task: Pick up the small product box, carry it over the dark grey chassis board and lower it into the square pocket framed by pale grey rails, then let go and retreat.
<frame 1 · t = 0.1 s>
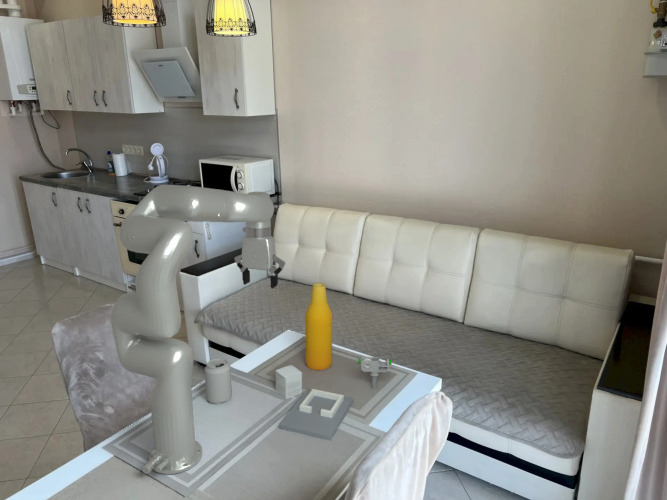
hand: (260, 285, 154), 31 cm above the table, tool pointing down, fingers open, 9 cm apart
chassis board: (318, 414, 140), on the table
mechanical component: (373, 388, 155), on the table
beer bottle: (318, 365, 169), on the table
can: (219, 399, 147), on the table
product box: (288, 392, 152), on the table
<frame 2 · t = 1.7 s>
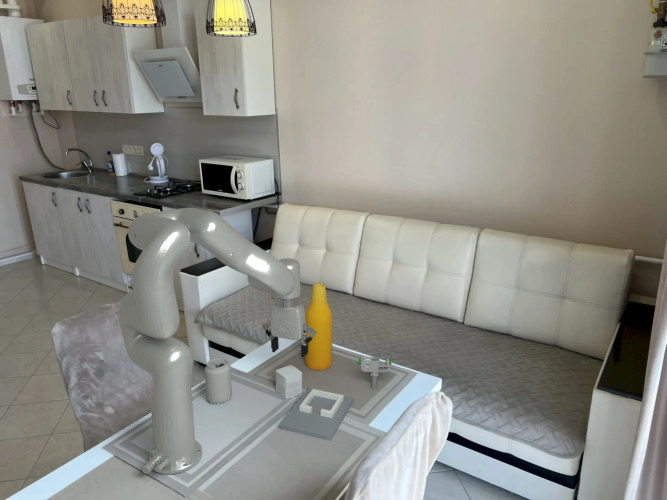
hand: (289, 352, 149), 13 cm above the table, tool pointing down, fingers open, 9 cm apart
nothing on the table moved.
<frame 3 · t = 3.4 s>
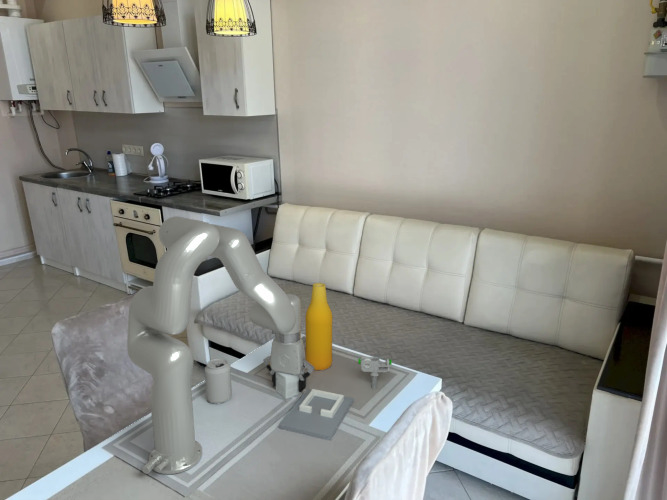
hand: (288, 387, 151), 2 cm above the table, tool pointing down, fingers closed on product box, 8 cm apart
product box: (288, 392, 152), on the table, touching gripper
everything else where it was.
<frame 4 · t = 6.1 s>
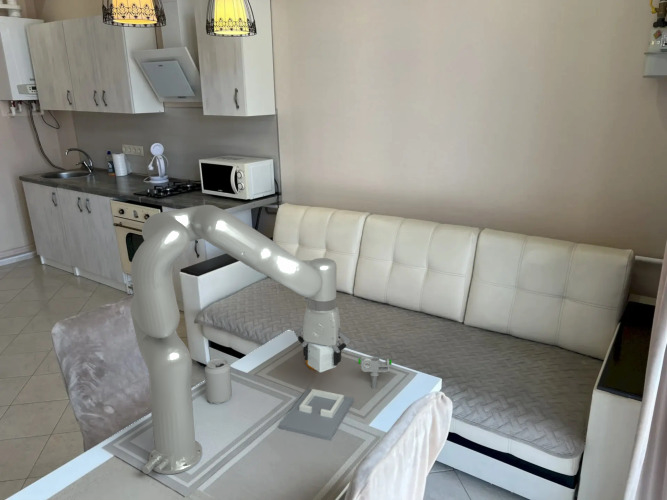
hand: (322, 360, 139), 15 cm above the table, tool pointing down, fingers closed on product box, 8 cm apart
product box: (322, 366, 139), point 14 cm above the table, touching gripper
everything else where it was.
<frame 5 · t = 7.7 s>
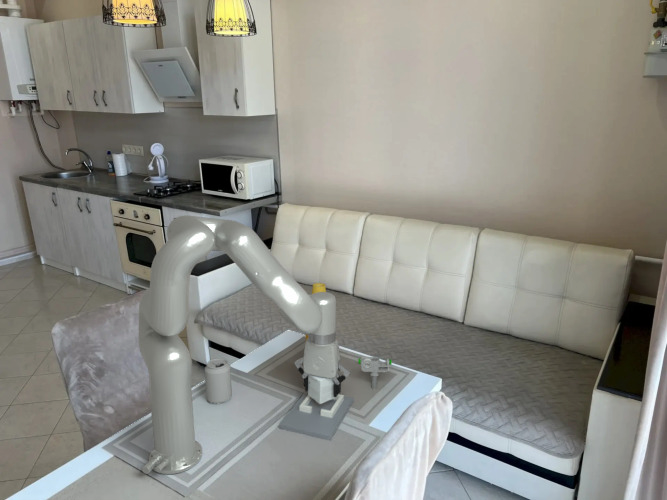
hand: (322, 391, 141), 6 cm above the table, tool pointing down, fingers closed on product box, 8 cm apart
product box: (322, 397, 142), point 4 cm above the table, touching gripper
everything else where it was.
when the fingers open (4 cm above the table, at t = 9.0 s): product box stays where it is, resting on chassis board.
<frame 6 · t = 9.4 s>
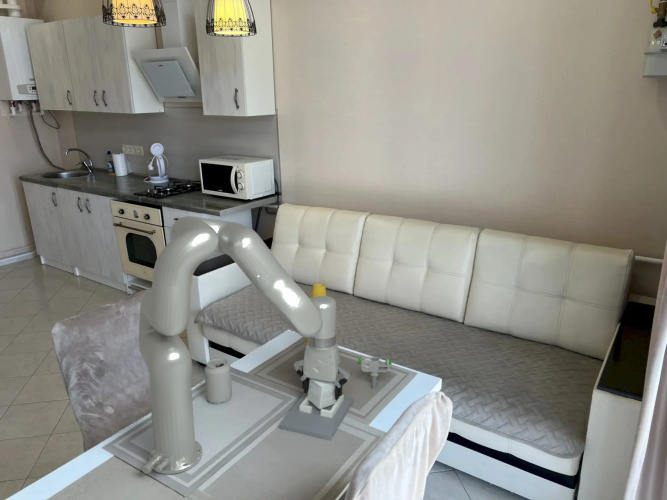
hand: (322, 394, 141), 5 cm above the table, tool pointing down, fingers open, 9 cm apart
product box: (321, 402, 142), point 2 cm above the table, touching chassis board, gripper
everything else where it was.
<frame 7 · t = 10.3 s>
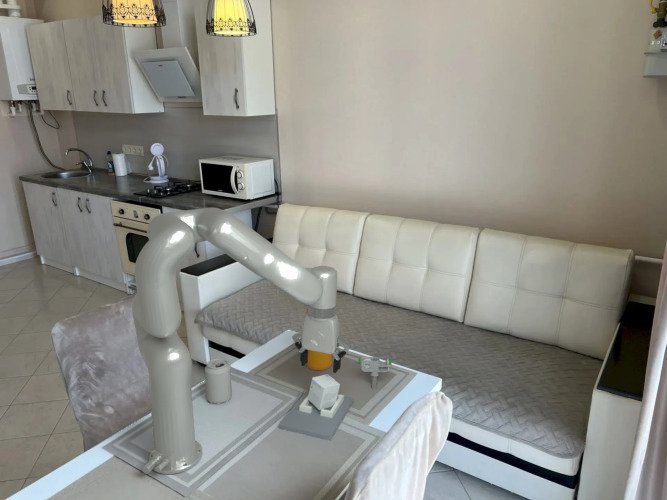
hand: (320, 367, 139), 13 cm above the table, tool pointing down, fingers open, 9 cm apart
product box: (321, 403, 142), point 2 cm above the table, touching chassis board
everything else where it was.
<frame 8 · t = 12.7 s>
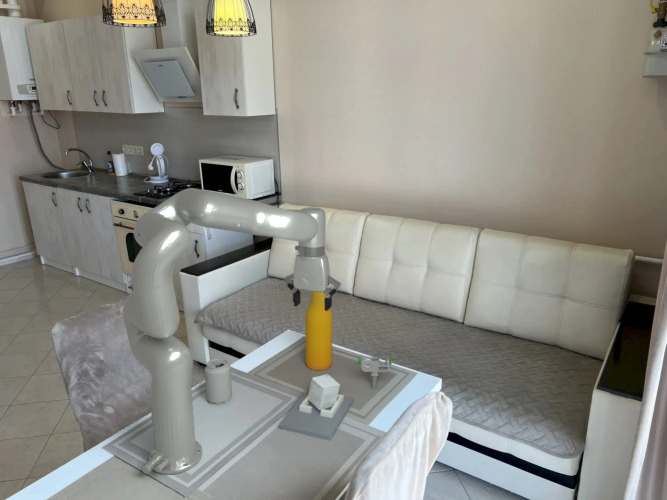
hand: (312, 307, 144), 28 cm above the table, tool pointing down, fingers open, 9 cm apart
nothing on the table moved.
at the end: product box 0.2 cm from the target spot on the chassis board, point 1.8 cm above the chassis board's base; product box tilted 10°; the gripper is holding nothing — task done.
